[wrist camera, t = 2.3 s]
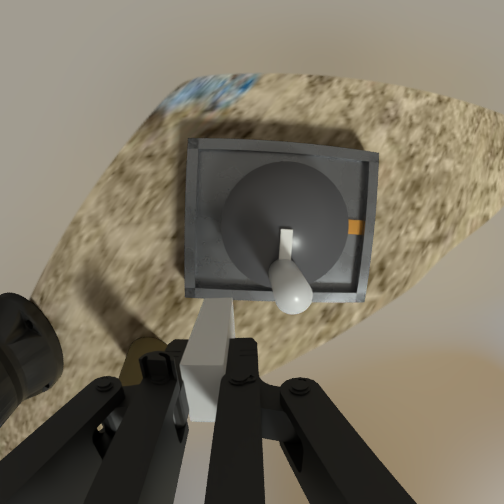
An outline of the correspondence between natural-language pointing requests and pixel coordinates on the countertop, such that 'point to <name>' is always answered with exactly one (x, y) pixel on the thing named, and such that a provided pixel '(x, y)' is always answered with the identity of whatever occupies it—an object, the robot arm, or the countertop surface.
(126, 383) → the cork
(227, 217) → the lever
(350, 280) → the dark grey tray
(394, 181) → the countertop surface
